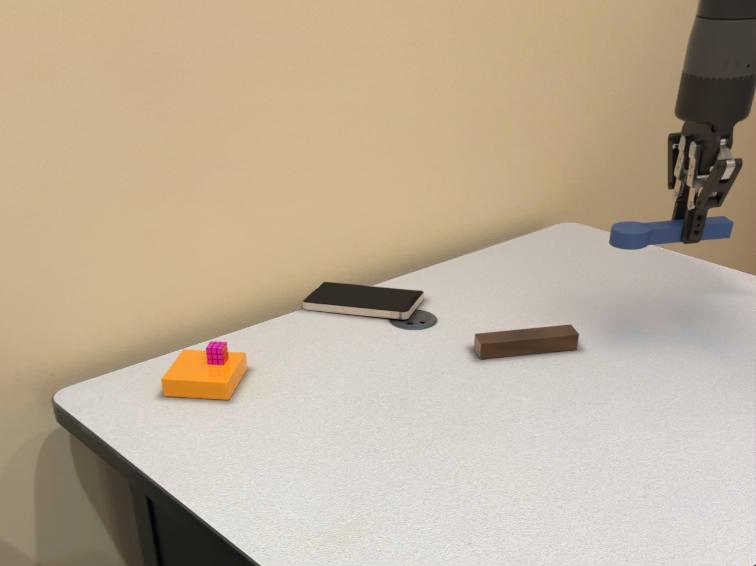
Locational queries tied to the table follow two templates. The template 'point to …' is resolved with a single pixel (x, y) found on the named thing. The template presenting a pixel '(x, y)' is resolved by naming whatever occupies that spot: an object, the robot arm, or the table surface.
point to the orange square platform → (205, 373)
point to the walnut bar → (526, 341)
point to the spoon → (663, 232)
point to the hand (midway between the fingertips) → (684, 237)
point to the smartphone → (364, 300)
